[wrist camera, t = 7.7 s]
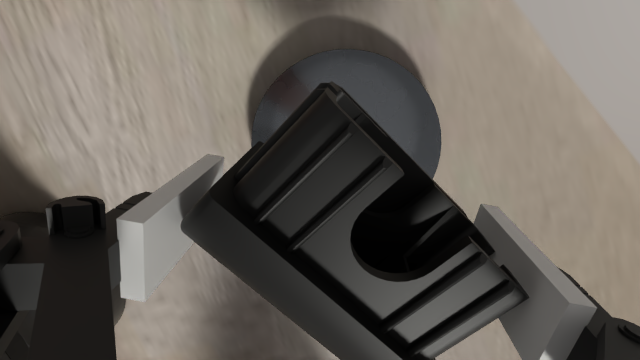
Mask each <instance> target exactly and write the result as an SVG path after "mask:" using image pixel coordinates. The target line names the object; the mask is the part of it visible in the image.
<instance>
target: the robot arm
mask: <svg viewBox="0 0 640 360" xmlns="http://www.w3.org/2000/svg"><path fill="white" fill-rule="evenodd" d="M223 164H224V157H221V156H216V155H210V154H207V155H206V156H204V157H203V158H201V159H200V160H199V161H197V162H196V163H194V164H193V165H192V166H190V167H189V168H187V169H186V170H185V171H183V172H182V173H180V174H179V175H177V176H176V177H175V178H173V179H172V180H170V181H169V182H168V183H166V184H165V185H163V186H162V187H161V188H159V189H158V190H156V191H155V192H153V193H150V192H144V193H141V194H138V195H134V196H132V197H131V198H129V199H127V200H126V201H124V202H123V204H122V203H121V204H120V205H118V206H117V207H116V208H115V209H112V210H111V211H109V212H108V213H106V214H105V203H104V202H103V200H101V199H99V198H97V197H91V196H72V197H65V198H62V199H59V200H56V201H54V202H52V203H50V204H49V205H48V206H47V207H46V215H45V214H40V213H31V212H22V213H13V214H9V215H6V216H3V217H1V218H0V360H117V359H116V346H115V333H114V326H115V325H116V323H117V322H118V321H119V319H120V318H121V316H122V314H123V311H124V308H125V302H126V299H131V300H136V301H142V302H146V300H147V299H148V298H149V297H150V295H151V294H152V293H153V292H154V291H155V289H156V288H157V287H158V286H159V284H160V283H161V282H162V281H163V280H164V278H165V277H166V276H167V275H168V273H169V272H170V271H171V270H172V269H173V267H174V266H175V265H176V264H177V262H178V261H179V260H180V259H181V258H182V256H183V255H184V254H185V253H186V252H187V250H188V249H189V248H190V247H191V245H192V244H193V243H194V241H193V240H192V239H190V238H189V237H188V236H187V235H185V234H184V233H183V232H182V231H181V227H180V225H181V221H182V220H183V219H184V217H185V216H186V215H187V214H188V212H189V211H190V210H191V209H192V208H193V207H194V206H195V204H196V203H197V202H198V201H199V200H200V199H201V198H202V197H203V195H204V194H205V193H206V192H207V191H208V190H209V189H210V188H211V187H212V186H213V185H214V184H215V183H216V182H217V181H218V180H219V179H220V178H221V177H222V176H223ZM474 225H475V226H476V227H477V228H478V230H479V231H480V232H481V233H482V234H483V236H484V237H485V238H486V240H487V241H488V242H489V244H490V245H491V246H492V248H493V249H494V250H495V252H494V253H493V254H491V255H490V256H489V257H490V258H491V259H492V260H493V261H494V262H495V263H496V264H497V265H498V266H499V267H500V266H501V265H503V264H504V265H505V266H506V267H507V268H508V270H509V271H510V272H511V273H512V274H513V276H514V277H515V278H516V280H517V281H518V282H519V284H520V285H521V286H522V288H523V289H524V290H525V292H526V293H527V294H528V296H529V298H528V299H527V300H525V301H524V302H522V303H521V304H519V305H517V306H516V307H514V308H513V309H511V310H510V311H508V312H506V313H505V314H503V315H502V316H500V317H498V318H499V320H500V321H501V323H502V325H503V327H504V328H505V330H506V332H507V334H508V335H509V337H510V339H511V341H512V342H513V344H514V346H515V348H516V349H517V351H518V353H519V355H520V356H521V358H522V360H640V327H639V326H637V325H636V324H634V323H631V322H628V321H626V320H623V319H619V318H612V317H611V316H610V315H609V314H608V313H607V312H606V311H605V310H604V309H603V308H602V307H601V306H600V305H599V304H598V303H597V302H596V301H595V300H594V299H593V298H592V297H591V296H590V295H588V293H587V292H586V291H585V290H584V289H583V288H582V287H580V285H579V284H578V283H577V282H576V281H575V280H574V279H573V278H572V277H571V276H570V275H569V274H567V273H566V272H564V271H563V270H561V269H560V268H558V267H557V266H555V264H554V263H553V262H552V261H551V260H550V259H549V258H548V257H547V256H546V255H545V254H544V253H543V252H542V251H541V250H540V249H539V248H538V247H537V246H536V245H535V244H534V243H533V242H532V241H531V240H530V239H529V238H528V237H527V236H526V235H525V234H524V233H523V232H522V231H521V230H520V229H519V228H518V227H517V226H516V225H515V224H514V223H513V222H512V221H511V220H510V219H509V218H508V217H507V216H506V215H505V214H504V213H503V212H502V211H501V210H500V209H499V208H498V207H496V206H491V205H485V204H481V205H480V208H479V210H478V213H477V216H476V219H475V221H474Z"/></svg>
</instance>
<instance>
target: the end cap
mask: <svg viewBox="0 0 640 360" xmlns="http://www.w3.org/2000/svg"><path fill="white" fill-rule="evenodd" d="M180 227H181V231H182V232H183V233H184V234H185V235H187V236H188V237H189V238H190V239H192V240H193V241H194V242H195V243H197V244H198V245H199V246H200V247H201V248H203V249H204V250H205V251H206V252H208V253H209V254H210V255H211V256H213V257H214V258H215V259H216V260H218V261H219V262H220V263H221V264H223V265H224V266H225V267H226V268H228V269H229V270H230V271H231V272H232V273H234V274H235V275H236V276H237V277H239V278H240V279H241V280H242V281H244V282H245V283H246V284H247V285H249V286H250V287H251V288H252V289H254V290H255V291H256V292H257V293H259V294H260V295H261V296H262V297H263V298H265V299H266V300H267V301H268V302H270V303H271V304H272V305H273V306H275V307H276V308H277V309H278V310H280V311H281V312H282V313H283V314H285V315H286V316H287V317H288V318H290V319H291V320H292V321H293V322H294V323H296V324H297V325H298V326H299V327H301V328H302V329H303V330H304V331H306V332H307V333H308V334H309V335H311V336H312V337H313V338H314V339H316V340H317V341H318V342H319V343H321V344H322V345H323V346H324V347H325V348H327V349H328V350H329V351H330V352H332V353H333V354H334V355H335V356H337V357H338V358H339V359H340V360H435V357H437V356H438V355H440V354H442V353H443V352H445V351H446V350H448V349H449V348H451V347H453V346H454V345H456V344H457V343H459V342H461V341H462V340H464V339H465V338H467V337H468V336H470V335H472V334H473V333H475V332H476V331H478V330H479V329H481V328H483V327H484V326H486V325H487V324H489V323H491V322H492V321H494V320H495V319H497V318H498V317H500V316H502V315H503V314H505V313H506V312H508V311H510V310H511V309H513V308H514V307H516V306H517V305H519V304H521V303H522V302H524V301H525V300H527V299H528V298H529V296H528V294H527V293H526V292H525V290H524V289H523V288H522V286H521V285H520V284H519V282H518V281H517V280H516V278H515V277H514V276H513V274H512V273H511V272H510V271H509V270H508V268H507V267H506V266H505V265H504V264H503V265H501V266H500V267H499V266H498V265H497V264H496V263H495V262H494V261H493V260H492V259H491V258H490V257H489V256H490V255H491V254H493V253H494V252H495V250H494V249H493V248H492V246H491V245H490V244H489V242H488V241H487V240H486V238H485V237H484V236H483V234H482V233H481V232H480V231H479V230H478V228H477V227H476V226H475V225H474V224H473V223H472V222H471V221H470V220H469V219H468V218H467V216H466V214H465V213H464V211H463V210H462V209H461V208H460V207H459V206H458V205H457V204H456V203H455V202H454V201H453V200H452V199H451V198H450V197H449V196H448V195H447V194H446V193H445V192H444V191H443V189H442V188H441V187H440V186H439V185H438V184H437V183H436V182H435V181H434V180H433V179H432V178H431V177H430V176H429V175H428V174H427V173H426V172H425V171H424V170H423V169H422V168H421V167H420V166H419V165H418V164H417V163H416V162H415V161H414V160H413V159H412V158H411V157H410V156H409V155H408V154H407V153H406V152H405V151H404V150H403V149H402V148H401V147H400V146H399V145H398V144H397V143H396V142H395V141H394V140H393V138H392V137H391V136H390V135H389V134H388V133H387V132H386V131H385V130H384V129H383V128H382V127H381V126H380V125H379V124H378V123H377V122H376V121H375V120H374V119H373V118H372V117H371V116H370V115H369V114H368V113H367V112H366V111H365V110H364V109H363V108H362V107H361V106H360V105H359V104H358V103H357V102H356V101H355V100H354V99H353V98H352V97H351V96H350V95H349V94H348V93H347V92H346V91H345V90H344V89H343V88H342V87H340V86H339V85H337V84H335V83H334V82H332V81H331V82H330V83H320V84H319V85H318V86H317V87H316V88H315V89H314V90H313V91H312V92H311V94H310V95H309V96H308V97H307V98H306V99H305V100H304V101H303V102H302V103H301V104H300V105H299V106H298V108H297V109H296V110H295V111H294V112H293V113H292V114H291V115H290V116H289V117H288V118H287V119H286V120H285V121H284V123H283V124H282V125H281V126H280V127H279V128H278V129H277V130H276V131H275V132H274V133H273V134H272V135H271V137H270V138H269V139H268V140H267V141H266V142H265V143H263V142H261V141H258V142H257V143H256V144H255V145H254V146H253V147H252V148H251V149H250V150H249V151H248V152H247V153H246V154H245V155H244V156H243V157H242V158H241V159H240V160H239V161H238V162H237V163H236V164H235V165H234V166H233V167H231V168H230V169H229V170H228V171H227V172H226V173H225V174H224V175H223V176H222V177H221V178H220V179H219V180H218V181H217V182H216V183H215V184H214V185H213V186H212V187H211V188H210V189H209V190H208V191H207V192H206V193H205V194H204V195H203V197H202V198H201V199H200V200H199V201H198V202H197V203H196V204H195V206H194V207H193V208H192V209H191V210H190V211H189V212H188V214H187V215H186V216H185V217H184V219H183V220H182V221H181V225H180Z"/></svg>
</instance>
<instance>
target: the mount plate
mask: <svg viewBox="0 0 640 360" xmlns="http://www.w3.org/2000/svg"><path fill="white" fill-rule="evenodd" d="M331 81H332V82H334V83H335V84H337V85H339V86H340V87H342V88H343V89H344V90H345V91H346V92H347V93H348V94H349V95H350V96H351V97H352V98H353V99H354V100H355V101H356V102H357V103H358V104H359V105H360V106H361V107H362V108H363V109H364V110H365V111H366V112H367V113H368V114H369V115H370V116H371V117H372V118H373V119H374V120H375V121H376V122H377V123H378V124H379V125H380V126H381V127H382V128H383V129H384V130H385V131H386V132H387V133H388V134H389V135H390V136H391V137H392V138H393V140H394V141H395V142H396V143H397V144H398V145H399V146H400V147H401V148H402V149H403V150H404V151H405V152H406V153H407V154H408V155H409V156H410V157H411V158H412V159H413V160H414V161H415V162H416V163H417V164H418V165H419V166H420V167H421V168H422V169H423V170H424V171H425V172H426V173H427V174H428V175H429V176H430V177H431V178H432V179H433V177H434V174H435V172H436V169H437V166H438V162H439V158H440V151H441V129H440V124H439V118H438V115H437V112H436V109H435V106H434V104H433V102H432V100H431V98H430V96H429V94H428V93H427V91H426V90H425V89H424V87H423V86H422V84H421V83H420V82H419V81H418V80H417V79H416V78H415V77H414V76H413V75H412V74H411V73H410V72H409V71H407V70H406V69H405V68H404V67H402V66H401V65H399V64H398V63H396V62H394V61H393V60H391V59H389V58H386V57H384V56H381V55H379V54H376V53H372V52H368V51H364V50H355V49H338V50H331V51H326V52H321V53H318V54H315V55H312V56H310V57H308V58H305V59H303V60H301V61H299V62H298V63H296V64H295V65H293V66H292V67H290V68H289V69H287V70H286V71H285V72H284V73H283V74H282V75H280V76H279V77H278V78H277V79H276V81H275V82H274V83H273V84H272V85H271V86H270V88H269V89H268V91H267V92H266V94H265V95H264V97H263V98H262V101H261V103H260V105H259V107H258V109H257V112H256V116H255V119H254V123H253V129H252V143H251V146H252V147H253V146H254V145H255V144H256V143H257V142H258V141H261V142H263V143H265V142H266V141H267V140H268V139H269V138H270V137H271V135H272V134H273V133H274V132H275V131H276V130H277V129H278V128H279V127H280V126H281V125H282V124H283V123H284V121H285V120H286V119H287V118H288V117H289V116H290V115H291V114H292V113H293V112H294V111H295V110H296V109H297V108H298V106H299V105H300V104H301V103H302V102H303V101H304V100H305V99H306V98H307V97H308V96H309V95H310V94H311V92H312V91H313V90H314V89H315V88H316V87H317V86H318V85H319V84H320V83H330V82H331Z"/></svg>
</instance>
